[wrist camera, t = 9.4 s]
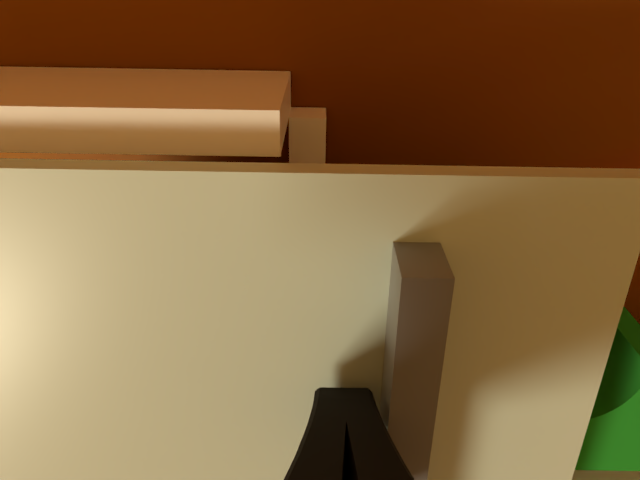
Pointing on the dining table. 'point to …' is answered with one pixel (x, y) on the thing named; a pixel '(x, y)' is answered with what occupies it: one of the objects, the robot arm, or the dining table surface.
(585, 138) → the dining table surface
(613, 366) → the pipe clamp
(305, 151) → the housing
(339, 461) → the robot arm
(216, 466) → the door
